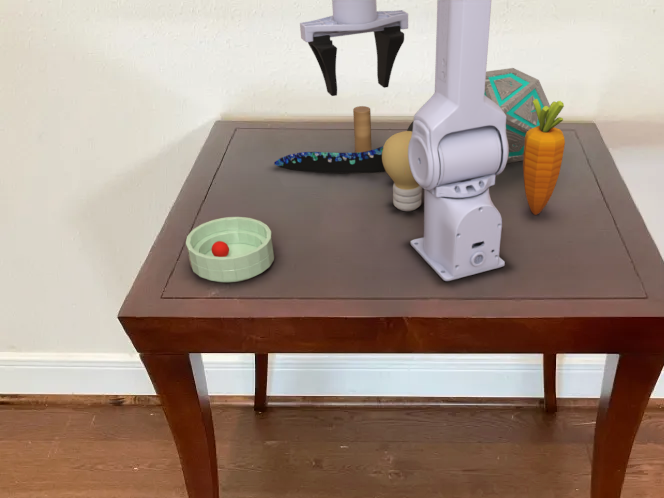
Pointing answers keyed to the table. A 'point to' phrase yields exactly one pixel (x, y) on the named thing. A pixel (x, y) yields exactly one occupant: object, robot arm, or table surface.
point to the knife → (334, 162)
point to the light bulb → (401, 172)
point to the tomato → (220, 249)
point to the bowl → (231, 249)
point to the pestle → (362, 129)
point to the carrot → (543, 156)
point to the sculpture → (515, 105)
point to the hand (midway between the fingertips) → (358, 89)
